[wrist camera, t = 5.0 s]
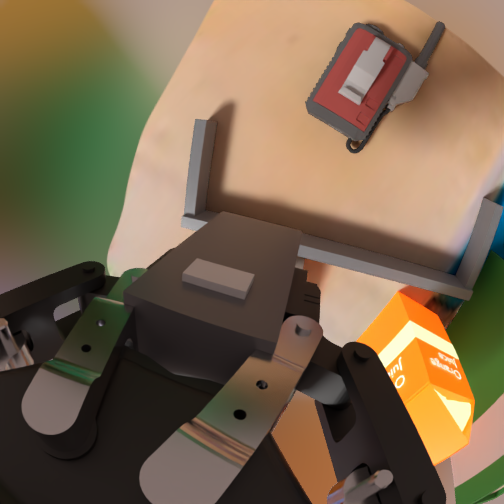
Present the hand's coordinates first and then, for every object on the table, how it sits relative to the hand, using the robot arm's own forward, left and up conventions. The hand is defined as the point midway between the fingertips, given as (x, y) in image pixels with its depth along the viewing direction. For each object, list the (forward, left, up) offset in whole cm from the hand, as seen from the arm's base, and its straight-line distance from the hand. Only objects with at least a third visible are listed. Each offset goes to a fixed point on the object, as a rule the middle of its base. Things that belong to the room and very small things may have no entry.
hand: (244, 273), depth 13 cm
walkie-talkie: (-7, -16, -18) cm, 25 cm away
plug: (0, 0, -2) cm, 2 cm away
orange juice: (-18, +12, -18) cm, 28 cm away
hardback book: (-29, +8, -18) cm, 35 cm away
